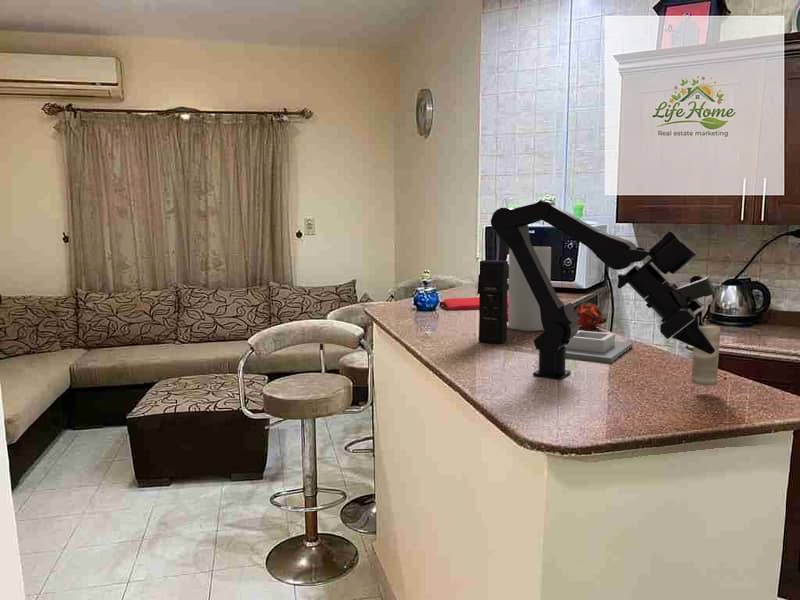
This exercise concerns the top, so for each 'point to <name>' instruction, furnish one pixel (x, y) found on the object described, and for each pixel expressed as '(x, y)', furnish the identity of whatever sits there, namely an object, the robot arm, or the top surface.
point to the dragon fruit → (589, 316)
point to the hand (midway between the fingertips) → (714, 350)
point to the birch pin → (706, 358)
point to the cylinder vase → (525, 294)
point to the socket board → (595, 347)
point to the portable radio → (493, 301)
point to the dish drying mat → (463, 303)
